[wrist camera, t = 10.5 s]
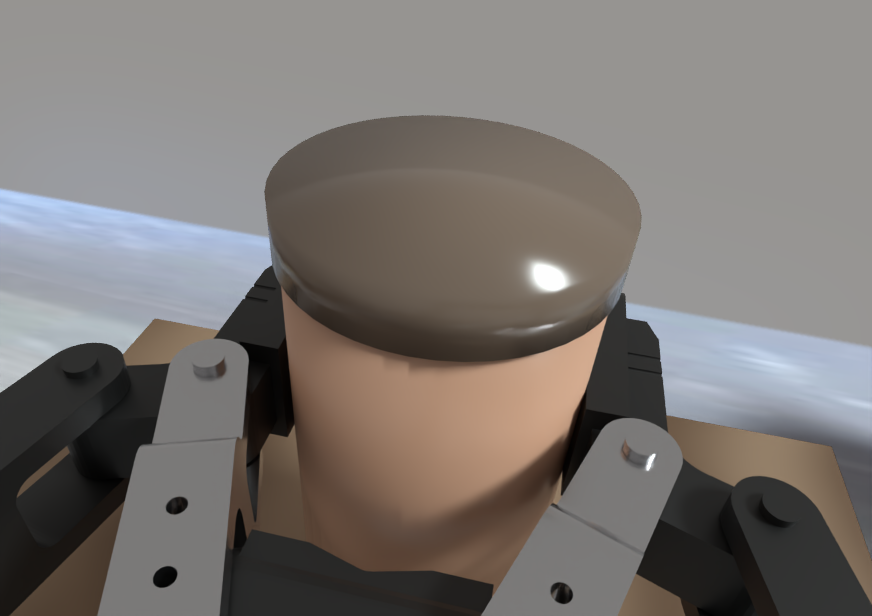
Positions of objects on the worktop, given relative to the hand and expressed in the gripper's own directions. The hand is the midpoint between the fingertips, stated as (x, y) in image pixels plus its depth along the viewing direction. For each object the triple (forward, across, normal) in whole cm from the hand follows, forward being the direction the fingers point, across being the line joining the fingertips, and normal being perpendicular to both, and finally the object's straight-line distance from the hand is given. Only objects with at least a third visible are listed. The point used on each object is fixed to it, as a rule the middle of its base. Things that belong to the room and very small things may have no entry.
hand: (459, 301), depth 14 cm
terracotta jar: (-3, 0, +6) cm, 7 cm away
